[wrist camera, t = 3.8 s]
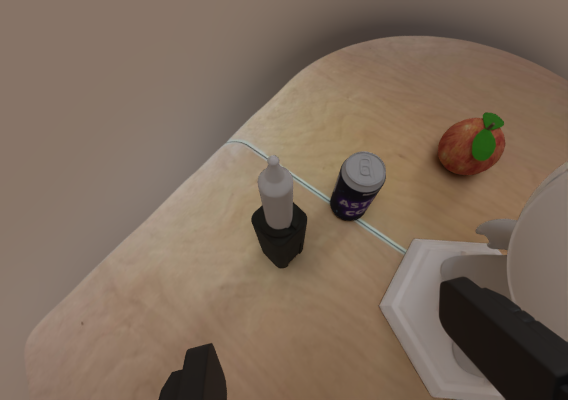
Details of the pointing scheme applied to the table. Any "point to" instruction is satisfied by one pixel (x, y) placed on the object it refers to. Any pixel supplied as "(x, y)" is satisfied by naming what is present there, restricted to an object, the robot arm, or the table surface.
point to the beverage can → (357, 185)
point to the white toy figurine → (483, 286)
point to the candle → (278, 215)
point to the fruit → (472, 145)
